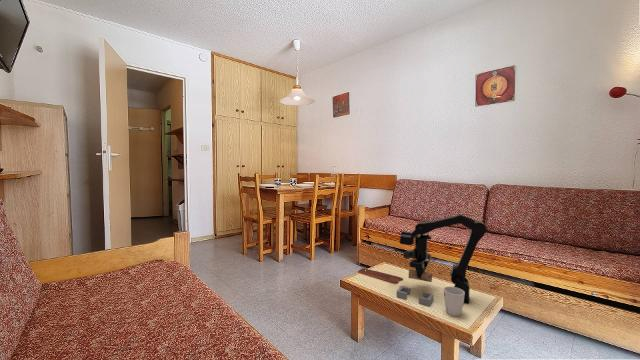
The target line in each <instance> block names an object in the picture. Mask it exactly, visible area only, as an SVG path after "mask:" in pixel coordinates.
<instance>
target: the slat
mask: <svg viewBox="0 0 640 360" xmlns="http://www.w3.org/2000/svg"><path fill="white" fill-rule="evenodd" d="M408 278H409V279H412V280H418V281H424V282H427V283H432V282H433V272H428V271H423V273H422V276H421V278H418V276H417V272H416V269H412V268H411V269H409V270H408Z"/></svg>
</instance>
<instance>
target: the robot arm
mask: <svg viewBox="0 0 640 360" xmlns="http://www.w3.org/2000/svg"><path fill="white" fill-rule="evenodd" d="M458 224H460V225H463V226H464V227H466V228H467V229H470V230H469V237H468V240H467V242H466V244H465V246H464V249H463V251H462V254H461V256H460V258H459V261H458V262H457V264H456V265H455V264H452V266H451V269H450V271H449V274H450V275H449V276H450V280H451V282H452V283H453V284H454V286H453V287H456V288H459V289H462V290H463V291H464V292H465V295H464V303H465V304H469V303H470V299H471V297H470V291H471V290H470V289H471V288H470V284H469V280H468V279H467V277H466V276H467V275H466V274H467V268H468V266H469V264H470V261H471V259H472V256H473V254H474V253H475V250H476V248H477V245H478V243H479V241H481V240H482V239H483V237H484V236H485V235H486V233H487V225H485V223H484V222H483V221H481V220H475V219H473V218H470V217H468V216H465V215H464V214H462V213H458V214H456V215H452V216H448V217H447V216H446V217H444V218H441V219H436V220H423V221H419V222H417V224H416V225H415V227H414V229H413V231H412V232H410V231H404V230H402V231H401V232H400V238H399V244H400V245H405V246H413V245H414V247H415V248H413V249H410V250H404V252H403V253H402V254H403V255H402V256H403V257H404V258H405V260H407V259H411V258H412V260H411V261H409V265H408V266H409V267H411V268H413V269H414V270H416V272H417V276H418V278H421V276H422V273H423V271H424V272H426V269H427V267H428V265H429V263H430V261H432V255H431V254H430V253H428V252H429V248H428V240H432V236H431V235H430V234H429V233H430V232H433V231H434V230H437V229H441V228H445V227H449V226H450V227H451V226H454V225H458ZM427 260H428V261H427ZM464 303H463V304H464Z"/></svg>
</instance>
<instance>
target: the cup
mask: <svg viewBox="0 0 640 360" xmlns="http://www.w3.org/2000/svg"><path fill="white" fill-rule="evenodd" d="M464 295H465V292H464V291H463V290H462V289H459V288H456V287H454V286H444V287H443V299H444V305H445V309H446V312H447V314H448V315H450V316H453V317H460V315H461V312H462V311H463V306H464Z"/></svg>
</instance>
